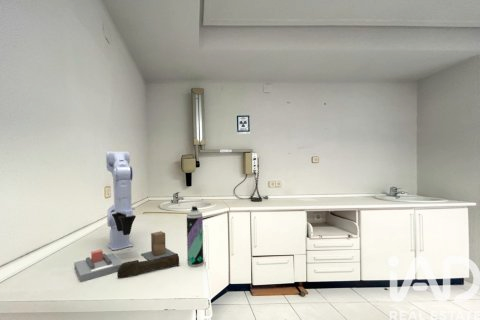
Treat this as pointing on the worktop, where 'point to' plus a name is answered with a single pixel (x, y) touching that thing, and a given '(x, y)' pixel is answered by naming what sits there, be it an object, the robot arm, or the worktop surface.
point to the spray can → (194, 237)
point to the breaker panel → (97, 267)
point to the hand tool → (146, 265)
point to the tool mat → (150, 256)
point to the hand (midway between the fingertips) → (123, 232)
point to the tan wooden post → (158, 243)
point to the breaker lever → (97, 256)
